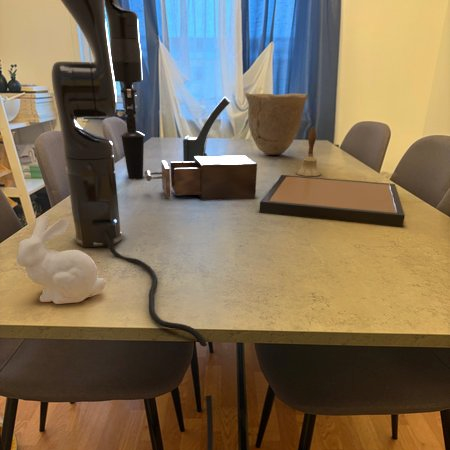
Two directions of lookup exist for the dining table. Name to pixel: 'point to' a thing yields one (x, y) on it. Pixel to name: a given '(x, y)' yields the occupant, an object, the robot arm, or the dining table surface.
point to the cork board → (334, 200)
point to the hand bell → (310, 158)
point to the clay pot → (274, 120)
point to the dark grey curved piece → (202, 135)
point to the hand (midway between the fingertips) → (131, 130)
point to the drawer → (179, 178)
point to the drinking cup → (134, 153)
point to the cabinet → (227, 177)
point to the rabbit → (58, 266)
